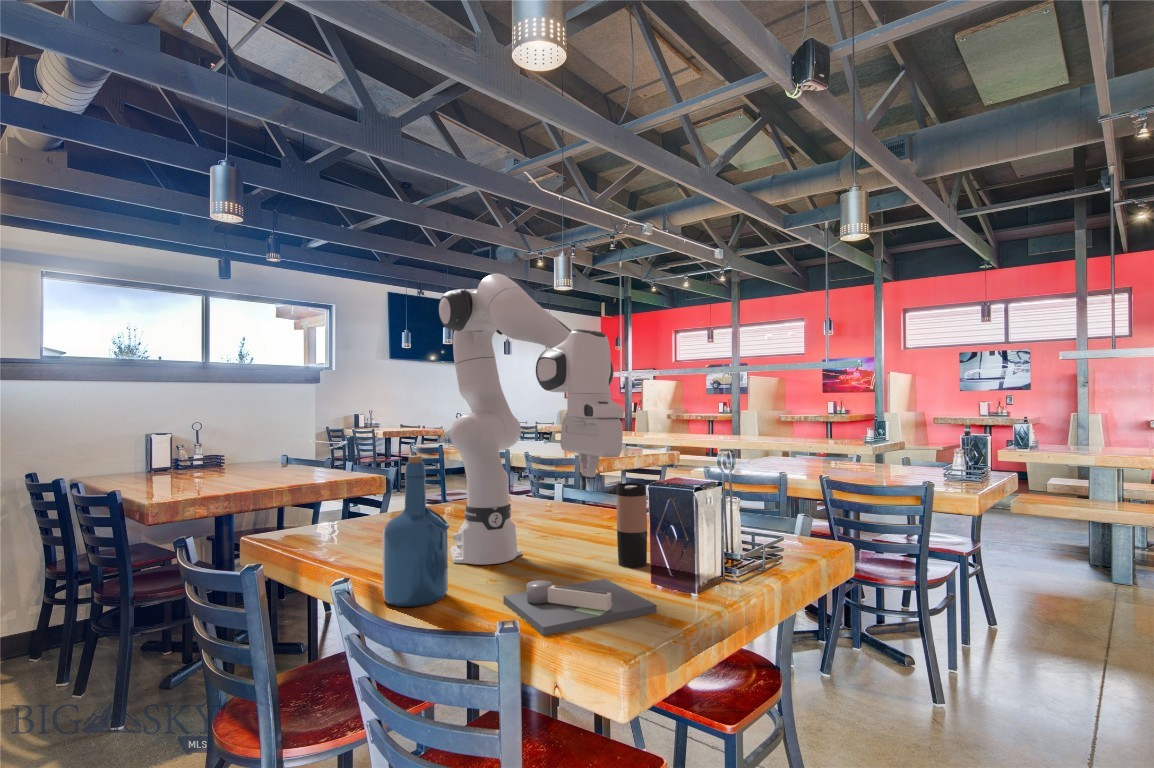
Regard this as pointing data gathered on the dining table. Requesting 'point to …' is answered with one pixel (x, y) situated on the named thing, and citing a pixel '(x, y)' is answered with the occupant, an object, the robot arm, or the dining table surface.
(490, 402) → the robot arm
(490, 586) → the dining table surface
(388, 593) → the wine bottle
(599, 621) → the dial plate
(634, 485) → the travel mug
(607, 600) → the dial lever
